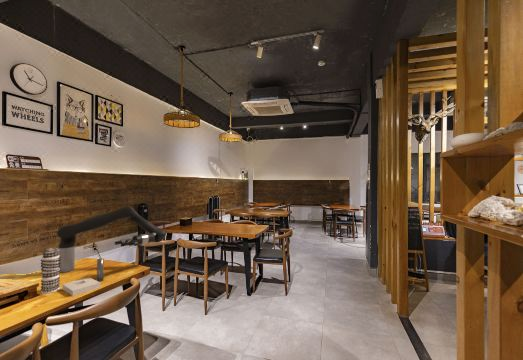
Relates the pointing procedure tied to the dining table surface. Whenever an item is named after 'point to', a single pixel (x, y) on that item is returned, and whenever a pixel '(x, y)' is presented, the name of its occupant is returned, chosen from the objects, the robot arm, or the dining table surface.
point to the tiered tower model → (50, 270)
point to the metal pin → (100, 269)
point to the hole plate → (80, 286)
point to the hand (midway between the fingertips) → (118, 244)
